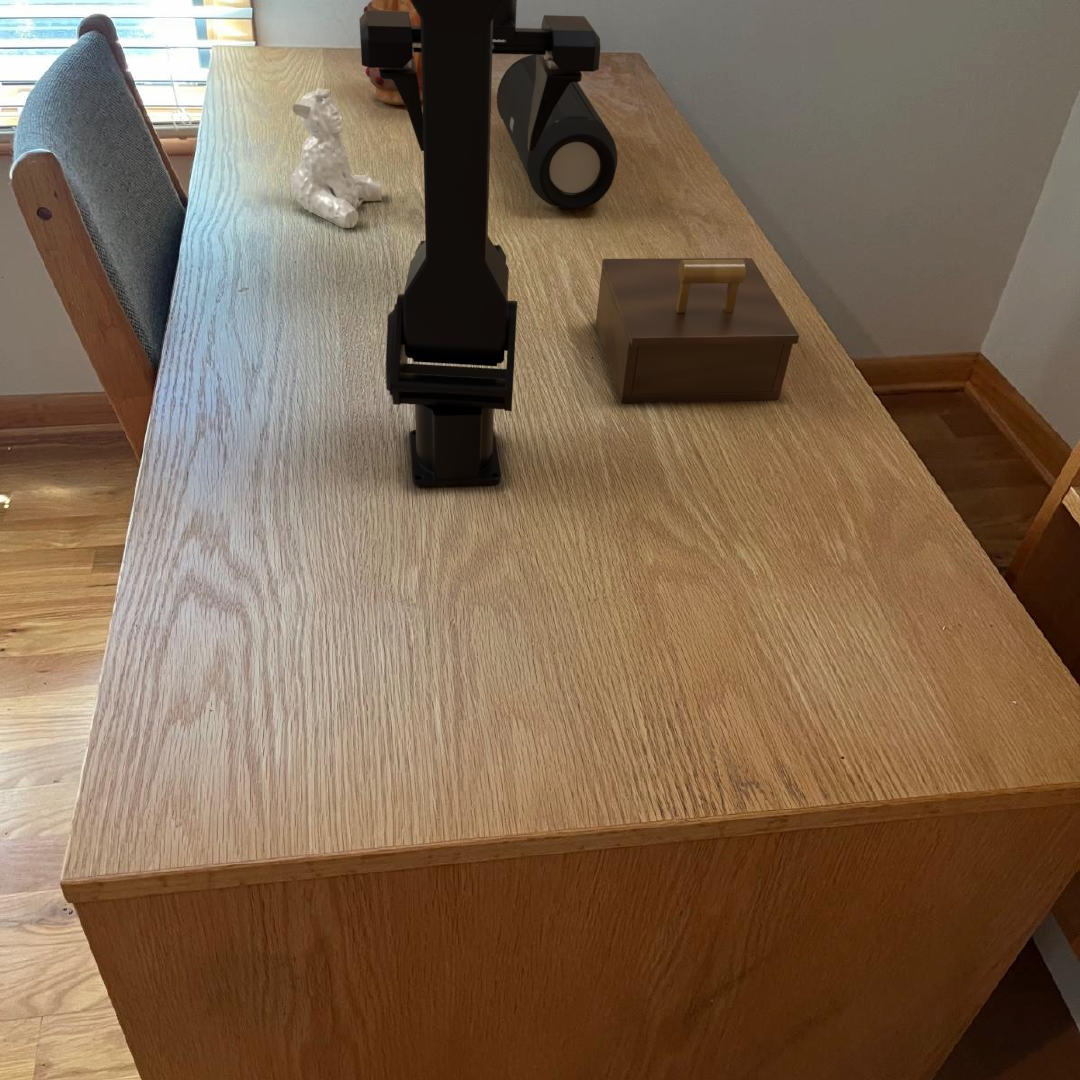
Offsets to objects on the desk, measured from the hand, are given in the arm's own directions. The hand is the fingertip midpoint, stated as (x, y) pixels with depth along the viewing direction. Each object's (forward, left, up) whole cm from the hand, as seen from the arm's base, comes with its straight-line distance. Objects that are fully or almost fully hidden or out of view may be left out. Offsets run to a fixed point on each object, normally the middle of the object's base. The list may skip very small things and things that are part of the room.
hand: (477, 149), depth 87 cm
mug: (+51, +5, -14) cm, 53 cm away
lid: (-12, -17, -8) cm, 23 cm away
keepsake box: (-12, -17, -14) cm, 25 cm away
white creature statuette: (+20, +14, -14) cm, 28 cm away
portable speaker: (+30, -11, -14) cm, 35 cm away
